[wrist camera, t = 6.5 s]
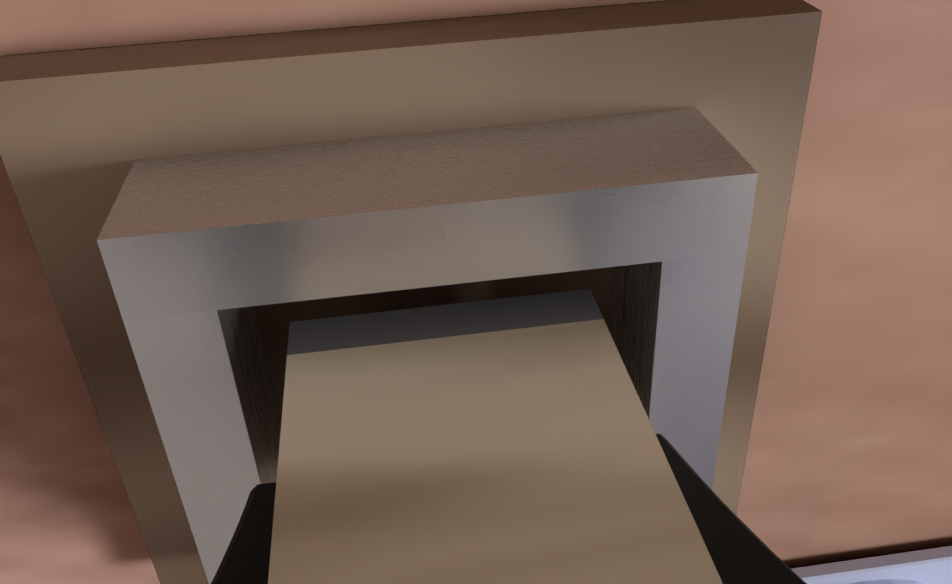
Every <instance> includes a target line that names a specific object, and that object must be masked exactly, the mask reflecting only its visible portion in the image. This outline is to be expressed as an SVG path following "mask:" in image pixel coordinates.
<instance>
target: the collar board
mask: <svg viewBox="0 0 952 584" xmlns="http://www.w3.org/2000/svg"><path fill="white" fill-rule="evenodd" d="M821 16H822V11H821V10H819V9H817V8H815V7H814V6H812V5H810V4H809V3H807V2H805V1H803V0H674V1H662V2H650V3H638V4H625V5H613V6H601V7H589V8H577V9H565V10H553V11H541V12H529V13H517V14H505V15H493V16H481V17H469V18H457V19H445V20H433V21H421V22H409V23H397V24H384V25H372V26H360V27H348V28H336V29H324V30H312V31H300V32H288V33H276V34H264V35H252V36H240V37H228V38H216V39H204V40H192V41H180V42H168V43H155V44H143V45H131V46H119V47H107V48H95V49H83V50H71V51H59V52H47V53H35V54H23V55H11V56H2V57H1V58H0V155H1V158H2V161H3V163H4V166H5V169H6V171H7V174H8V177H9V179H10V182H11V185H12V187H13V190H14V193H15V195H16V198H17V201H18V203H19V206H20V209H21V212H22V214H23V217H24V220H25V222H26V225H27V228H28V230H29V233H30V236H31V238H32V241H33V244H34V246H35V249H36V252H37V254H38V257H39V260H40V262H41V265H42V268H43V270H44V273H45V276H46V278H47V281H48V284H49V286H50V289H51V292H52V295H53V297H54V300H55V303H56V305H57V308H58V311H59V313H60V316H61V319H62V321H63V324H64V327H65V329H66V332H67V335H68V337H69V340H70V343H71V345H72V348H73V351H74V353H75V356H76V359H77V361H78V364H79V367H80V370H81V372H82V375H83V378H84V380H85V383H86V386H87V388H88V391H89V394H90V396H91V399H92V402H93V404H94V407H95V410H96V412H97V415H98V418H99V420H100V423H101V426H102V428H103V431H104V434H105V436H106V439H107V442H108V444H109V447H110V450H111V453H112V455H113V458H114V461H115V463H116V466H117V469H118V471H119V474H120V477H121V479H122V482H123V485H124V487H125V490H126V493H127V495H128V498H129V501H130V503H131V506H132V509H133V511H134V514H135V517H136V519H137V522H138V525H139V527H140V530H141V533H142V536H143V538H144V541H145V544H146V546H147V549H148V552H149V554H150V557H151V560H152V562H153V565H154V568H155V570H156V573H157V576H158V578H159V581H160V584H211V582H212V580H213V578H214V576H215V574H216V572H217V570H218V568H219V566H220V564H221V561H222V559H223V557H224V555H225V553H226V550H227V548H228V546H229V544H230V542H231V539H232V537H233V535H234V532H235V530H236V528H237V525H238V523H239V520H240V518H241V515H242V513H243V510H244V508H245V505H246V502H247V499H248V497H249V494H250V491H251V490H252V489H253V488H254V487H255V486H256V485H257V484H265V483H273V482H276V481H277V469H278V457H279V445H280V433H281V421H282V409H283V397H284V385H285V373H286V361H287V349H288V337H289V325H290V322H294V321H303V320H312V319H321V318H330V317H339V316H348V315H357V314H366V313H375V312H384V311H393V310H402V309H411V308H419V307H428V306H437V305H446V304H455V303H464V302H473V301H482V300H491V299H500V298H509V297H518V296H527V295H536V294H545V293H554V292H563V291H572V290H581V289H590V290H591V292H592V294H593V296H594V299H595V301H596V303H597V305H598V307H599V310H600V312H601V314H602V316H603V319H604V321H605V323H606V325H607V327H608V330H609V332H610V334H611V336H612V339H613V341H614V343H615V345H616V347H617V350H618V352H619V354H620V356H621V359H622V361H623V363H624V365H625V367H626V370H627V372H628V374H629V376H630V379H631V381H632V383H633V385H634V387H635V390H636V392H637V394H638V396H639V399H640V401H641V403H642V405H643V407H644V410H645V412H646V414H647V416H648V419H649V421H650V423H651V425H652V427H653V430H654V432H655V434H659V433H660V434H661V435H662V436H663V437H665V438H666V439H667V440H668V441H669V442H670V444H671V445H672V446H673V447H674V448H675V449H676V451H677V452H678V453H679V454H680V455H681V456H682V457H683V459H684V460H685V461H686V462H687V463H688V464H689V465H690V466H691V468H692V469H693V470H694V471H695V472H696V473H697V474H698V475H699V476H700V478H701V479H702V480H703V481H704V482H705V483H706V484H707V485H708V486H709V487H710V489H711V490H712V491H713V492H714V493H715V494H716V495H717V496H718V497H719V498H720V499H721V500H722V501H723V502H724V504H725V505H726V506H727V507H728V508H729V509H730V510H731V511H732V512H733V513H734V514H735V515H736V513H737V507H738V501H739V496H740V490H741V484H742V478H743V472H744V466H745V460H746V455H747V449H748V443H749V437H750V431H751V425H752V419H753V414H754V408H755V402H756V396H757V390H758V384H759V378H760V373H761V367H762V361H763V355H764V349H765V343H766V337H767V332H768V326H769V320H770V314H771V308H772V302H773V297H774V291H775V285H776V279H777V273H778V267H779V261H780V256H781V250H782V244H783V238H784V232H785V226H786V220H787V215H788V209H789V203H790V197H791V191H792V185H793V179H794V174H795V168H796V162H797V156H798V150H799V144H800V138H801V133H802V127H803V121H804V115H805V109H806V103H807V98H808V92H809V86H810V80H811V74H812V68H813V62H814V57H815V51H816V45H817V39H818V33H819V27H820V21H821Z"/></svg>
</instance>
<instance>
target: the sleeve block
mask: <svg viewBox="0 0 952 584" xmlns="http://www.w3.org/2000/svg"><path fill="white" fill-rule="evenodd" d="M268 584H723V583H722V581H721V578H720V576H719V574H718V572H717V570H716V567H715V565H714V563H713V561H712V558H711V556H710V554H709V552H708V550H707V547H706V545H705V543H704V541H703V538H702V536H701V534H700V532H699V530H698V527H697V525H696V523H695V521H694V518H693V516H692V514H691V512H690V510H689V507H688V505H687V503H686V501H685V499H684V496H683V494H682V492H681V490H680V487H679V485H678V483H677V481H676V479H675V476H674V474H673V472H672V470H671V467H670V465H669V463H668V461H667V459H666V456H665V454H664V452H663V450H662V447H661V445H660V443H659V441H658V439H657V436H656V434H655V432H654V430H653V427H652V425H651V423H650V421H649V419H648V416H647V414H646V412H645V410H644V407H643V405H642V403H641V401H640V399H639V396H638V394H637V392H636V390H635V387H634V385H633V383H632V381H631V379H630V376H629V374H628V372H627V370H626V367H625V365H624V363H623V361H622V359H621V356H620V354H619V352H618V350H617V347H616V345H615V343H614V341H613V339H612V336H611V334H610V332H609V330H608V327H607V325H606V323H605V321H604V319H603V316H602V314H601V312H600V310H599V307H598V305H597V303H596V301H595V299H594V296H593V294H592V292H591V290H590V289H581V290H572V291H563V292H554V293H545V294H536V295H527V296H518V297H509V298H500V299H491V300H482V301H473V302H464V303H455V304H446V305H437V306H428V307H419V308H411V309H402V310H393V311H384V312H375V313H366V314H357V315H348V316H339V317H330V318H321V319H312V320H303V321H294V322H290V325H289V337H288V349H287V361H286V373H285V385H284V397H283V409H282V421H281V433H280V445H279V457H278V469H277V481H276V493H275V504H274V516H273V528H272V540H271V552H270V564H269V576H268Z"/></svg>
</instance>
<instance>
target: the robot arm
mask: <svg viewBox="0 0 952 584" xmlns="http://www.w3.org/2000/svg"><path fill="white" fill-rule="evenodd" d="M656 436H657V439H658V441H659V443H660V445H661V447H662V450H663V452H664V454H665V456H666V459H667V461H668V463H669V465H670V467H671V470H672V472H673V474H674V476H675V479H676V481H677V483H678V485H679V487H680V490H681V492H682V494H683V496H684V499H685V501H686V503H687V505H688V507H689V510H690V512H691V514H692V516H693V518H694V521H695V523H696V525H697V527H698V530H699V532H700V534H701V536H702V538H703V541H704V543H705V545H706V547H707V550H708V552H709V554H710V556H711V558H712V561H713V563H714V565H715V567H716V570H717V572H718V574H719V576H720V578H721V581H722V583H723V584H952V546H946V547H939V548H932V549H925V550H917V551H910V552H903V553H896V554H889V555H882V556H875V557H868V558H861V559H854V560H847V561H840V562H833V563H826V564H819V565H812V566H805V567H798V568H791V569H790V568H789V567H788V566H787V565H786V564H785V563H784V562H783V561H782V560H781V559H780V558H778V557H777V556H776V555H775V554H774V553H773V552H772V551H771V550H770V549H769V548H768V547H767V546H766V545H765V544H764V543H763V542H762V541H761V540H760V539H759V538H758V537H757V536H756V535H755V534H754V533H753V532H752V531H751V530H750V529H749V528H748V527H747V526H746V525H745V524H744V523H743V522H742V521H741V520H740V519H739V518H738V517H737V516H736V515H735V514H734V513H733V512H732V511H731V510H730V509H729V508H728V507H727V506H726V505H725V504H724V502H723V501H722V500H721V499H720V498H719V497H718V496H717V495H716V494H715V493H714V492H713V491H712V490H711V489H710V487H709V486H708V485H707V484H706V483H705V482H704V481H703V480H702V479H701V478H700V476H699V475H698V474H697V473H696V472H695V471H694V470H693V469H692V468H691V466H690V465H689V464H688V463H687V462H686V461H685V460H684V459H683V457H682V456H681V455H680V454H679V453H678V452H677V451H676V449H675V448H674V447H673V446H672V445H671V444H670V442H669V441H668V440H667V439H666V438H665V437H663V436H662V435H661V434H660V433H659V434H656ZM275 493H276V482H273V483H265V484H257V485H256V486H255V487H254V488H253V489H252V490H251V491H250V494H249V497H248V499H247V502H246V505H245V508H244V510H243V513H242V515H241V518H240V520H239V523H238V525H237V528H236V530H235V532H234V535H233V537H232V539H231V542H230V544H229V546H228V548H227V550H226V553H225V555H224V557H223V559H222V561H221V564H220V566H219V568H218V570H217V572H216V574H215V576H214V578H213V580H212V582H211V584H268V576H269V564H270V552H271V540H272V528H273V516H274V504H275Z"/></svg>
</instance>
